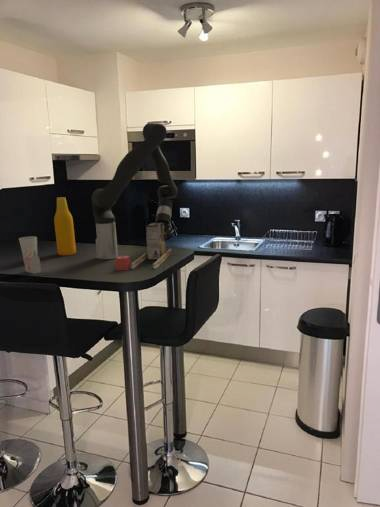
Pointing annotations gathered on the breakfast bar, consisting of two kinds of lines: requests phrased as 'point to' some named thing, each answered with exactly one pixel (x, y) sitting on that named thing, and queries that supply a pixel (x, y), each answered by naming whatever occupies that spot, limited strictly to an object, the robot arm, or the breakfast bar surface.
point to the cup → (28, 244)
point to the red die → (122, 262)
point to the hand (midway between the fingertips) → (159, 245)
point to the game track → (154, 263)
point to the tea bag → (32, 262)
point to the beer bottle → (64, 229)
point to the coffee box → (155, 240)
